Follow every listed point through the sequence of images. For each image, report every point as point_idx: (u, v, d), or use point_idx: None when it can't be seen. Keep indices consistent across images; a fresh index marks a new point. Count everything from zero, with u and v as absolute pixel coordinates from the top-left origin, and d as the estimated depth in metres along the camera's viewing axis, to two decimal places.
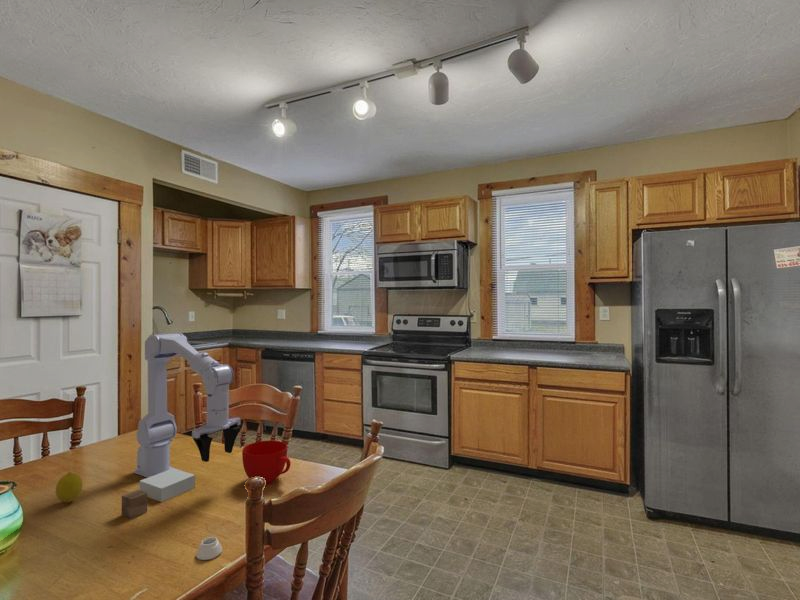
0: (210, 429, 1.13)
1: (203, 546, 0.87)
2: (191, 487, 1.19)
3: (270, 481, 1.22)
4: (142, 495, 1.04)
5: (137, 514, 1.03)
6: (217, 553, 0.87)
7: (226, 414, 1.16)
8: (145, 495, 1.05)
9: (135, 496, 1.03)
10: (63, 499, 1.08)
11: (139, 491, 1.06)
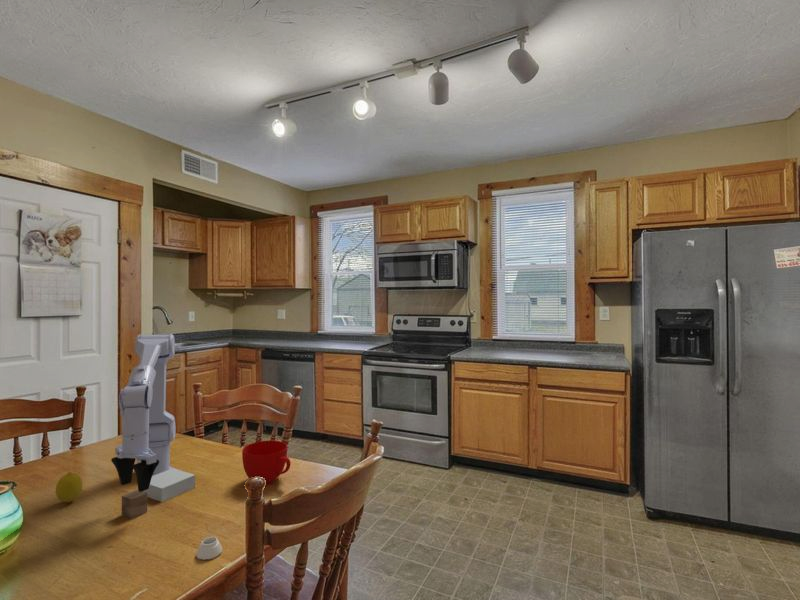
0: (119, 451, 1.05)
1: (203, 546, 0.87)
2: (191, 487, 1.19)
3: (270, 481, 1.22)
4: (142, 495, 1.04)
5: (137, 514, 1.03)
6: (217, 553, 0.87)
7: (125, 442, 1.02)
8: (145, 495, 1.05)
9: (135, 496, 1.03)
10: (63, 499, 1.08)
11: None
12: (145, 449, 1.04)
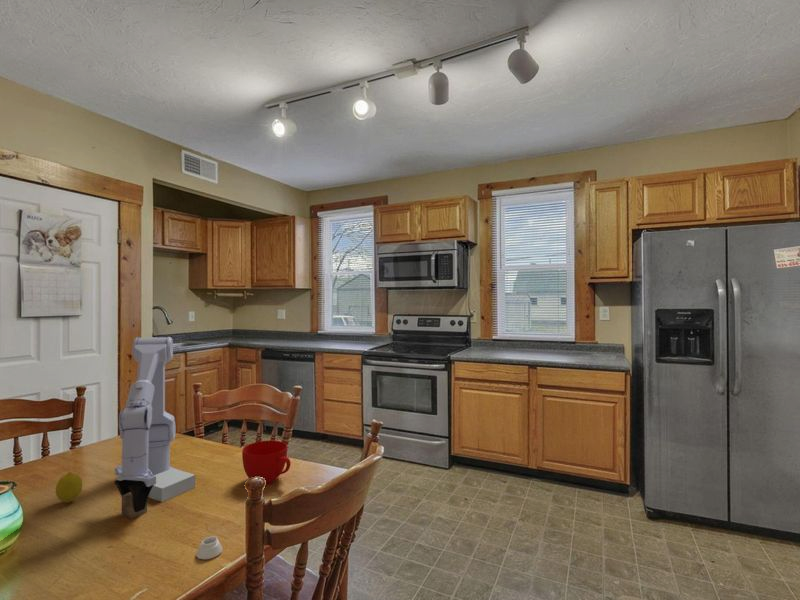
0: (118, 472, 1.05)
1: (203, 546, 0.87)
2: (191, 487, 1.19)
3: (270, 481, 1.22)
4: None
5: (137, 514, 1.03)
6: (217, 553, 0.87)
7: (125, 464, 1.02)
8: None
9: None
10: (63, 499, 1.08)
11: None
12: (145, 470, 1.04)
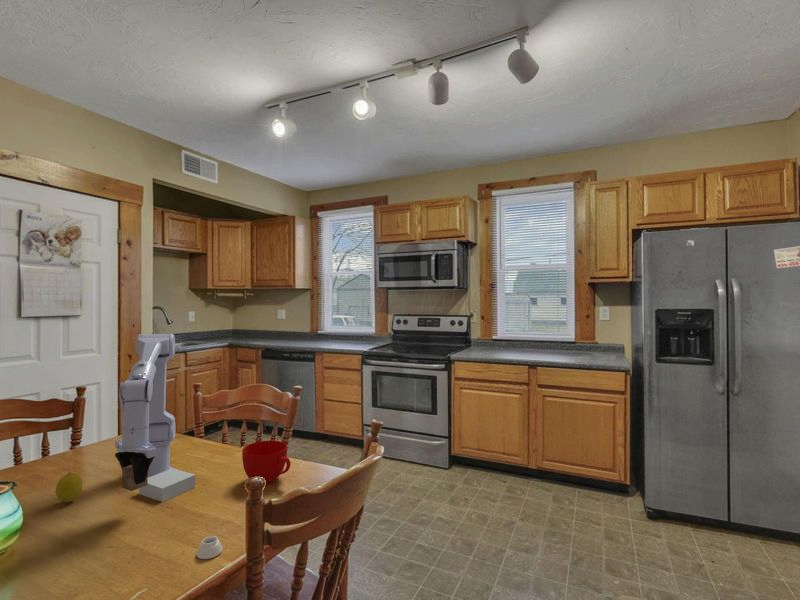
0: (119, 445, 1.05)
1: (203, 545, 0.87)
2: (191, 487, 1.19)
3: (270, 481, 1.22)
4: None
5: (137, 486, 1.03)
6: (217, 552, 0.88)
7: (125, 436, 1.02)
8: None
9: None
10: (63, 499, 1.08)
11: None
12: (145, 443, 1.04)
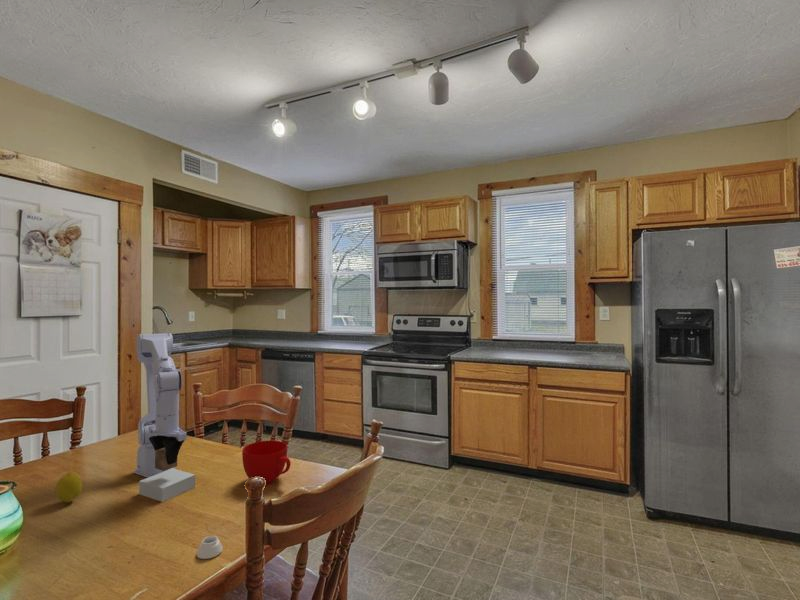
0: (152, 430, 1.17)
1: (203, 545, 0.87)
2: (191, 487, 1.19)
3: (270, 481, 1.22)
4: None
5: (169, 467, 1.16)
6: (217, 552, 0.88)
7: (159, 422, 1.14)
8: None
9: None
10: (63, 499, 1.08)
11: None
12: (176, 428, 1.17)
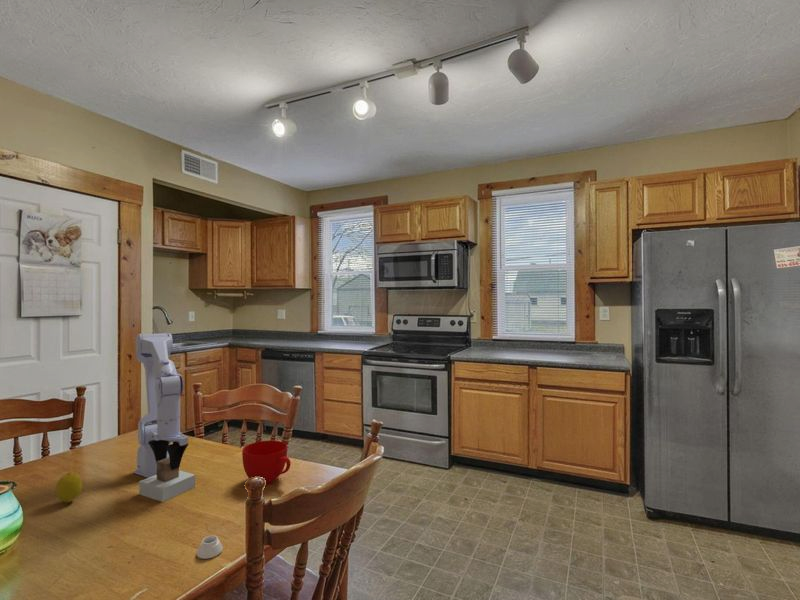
0: (154, 434, 1.18)
1: (204, 545, 0.87)
2: (191, 487, 1.19)
3: (270, 481, 1.22)
4: None
5: (170, 478, 1.16)
6: (217, 552, 0.88)
7: (160, 426, 1.15)
8: None
9: (169, 462, 1.16)
10: (63, 499, 1.08)
11: None
12: (177, 432, 1.17)
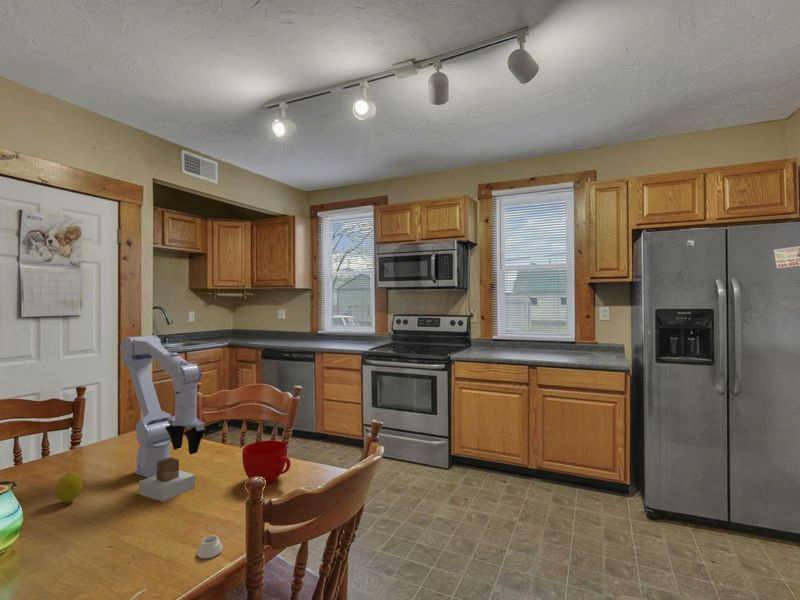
0: (172, 420, 1.23)
1: (204, 545, 0.88)
2: (191, 487, 1.19)
3: (270, 481, 1.22)
4: (174, 461, 1.17)
5: (170, 478, 1.16)
6: (218, 552, 0.88)
7: (178, 412, 1.20)
8: (177, 461, 1.18)
9: (169, 462, 1.16)
10: (63, 499, 1.08)
11: (171, 458, 1.19)
12: (194, 419, 1.22)
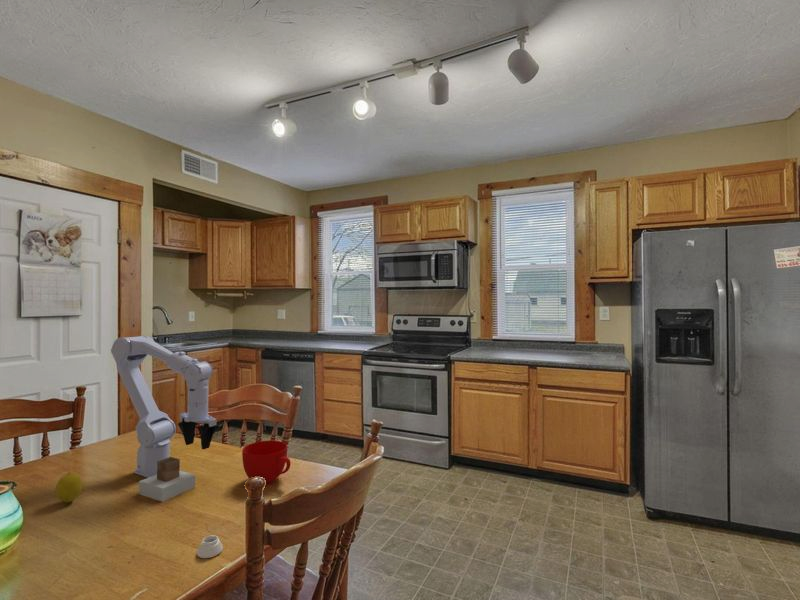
0: (184, 416, 1.27)
1: (204, 544, 0.88)
2: (191, 487, 1.19)
3: (270, 481, 1.22)
4: (175, 461, 1.18)
5: (171, 477, 1.16)
6: (218, 551, 0.88)
7: (191, 409, 1.24)
8: (178, 461, 1.18)
9: (170, 462, 1.16)
10: (63, 499, 1.08)
11: (172, 458, 1.19)
12: (206, 415, 1.27)
